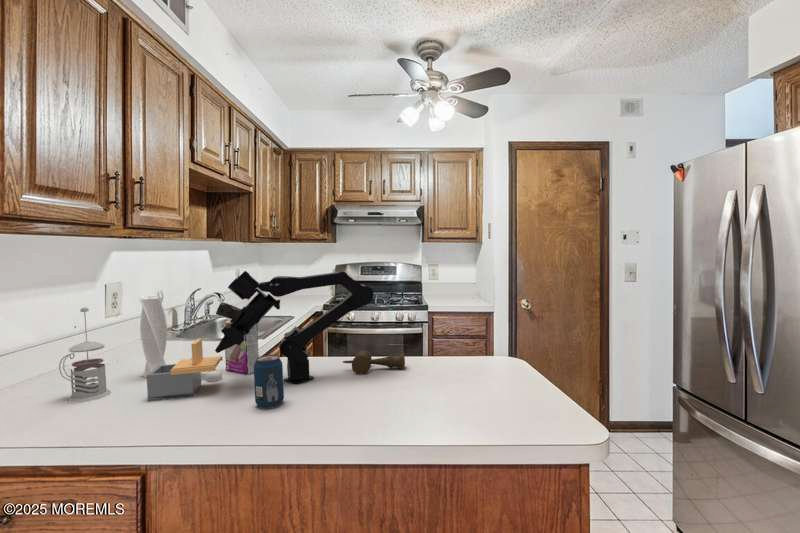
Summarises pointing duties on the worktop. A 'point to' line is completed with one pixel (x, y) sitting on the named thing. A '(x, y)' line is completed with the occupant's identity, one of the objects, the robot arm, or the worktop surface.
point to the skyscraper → (153, 331)
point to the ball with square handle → (212, 375)
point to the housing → (171, 383)
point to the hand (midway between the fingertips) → (216, 351)
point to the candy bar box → (243, 353)
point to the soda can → (268, 381)
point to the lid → (196, 361)
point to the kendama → (374, 362)
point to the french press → (87, 372)
